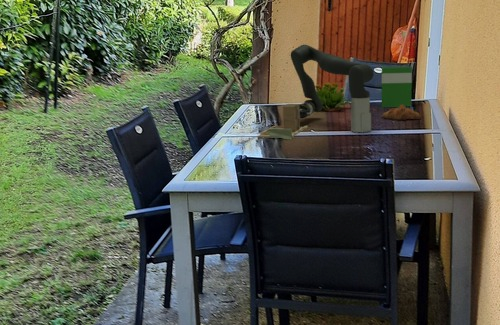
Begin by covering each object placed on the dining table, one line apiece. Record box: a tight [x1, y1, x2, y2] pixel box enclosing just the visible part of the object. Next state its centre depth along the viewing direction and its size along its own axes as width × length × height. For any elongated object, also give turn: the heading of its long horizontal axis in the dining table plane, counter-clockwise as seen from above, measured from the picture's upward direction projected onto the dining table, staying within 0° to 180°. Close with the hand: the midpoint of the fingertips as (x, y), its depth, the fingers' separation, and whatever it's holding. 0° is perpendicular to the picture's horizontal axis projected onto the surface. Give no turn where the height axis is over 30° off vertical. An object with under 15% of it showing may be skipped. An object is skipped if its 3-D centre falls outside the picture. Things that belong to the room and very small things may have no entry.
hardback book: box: [381, 66, 413, 108], centre depth 373 cm, size 18×7×24 cm, turn 76°
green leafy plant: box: [315, 81, 351, 112], centre depth 373 cm, size 25×24×18 cm
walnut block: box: [282, 103, 301, 132], centre depth 311 cm, size 8×6×13 cm
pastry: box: [380, 105, 422, 121], centre depth 334 cm, size 17×15×8 cm
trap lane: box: [256, 125, 309, 140], centre depth 310 cm, size 27×18×5 cm, turn 157°
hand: (293, 115), depth 315 cm, fingers closed
